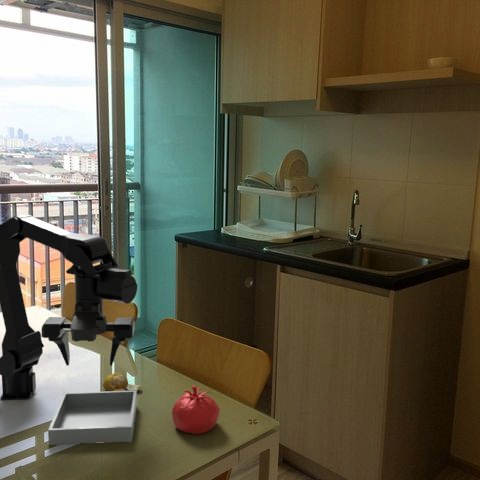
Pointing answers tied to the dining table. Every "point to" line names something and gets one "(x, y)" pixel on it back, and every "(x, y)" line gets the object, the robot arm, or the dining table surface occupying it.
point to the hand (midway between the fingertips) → (89, 364)
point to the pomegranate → (195, 412)
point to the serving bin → (94, 418)
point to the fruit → (118, 383)
